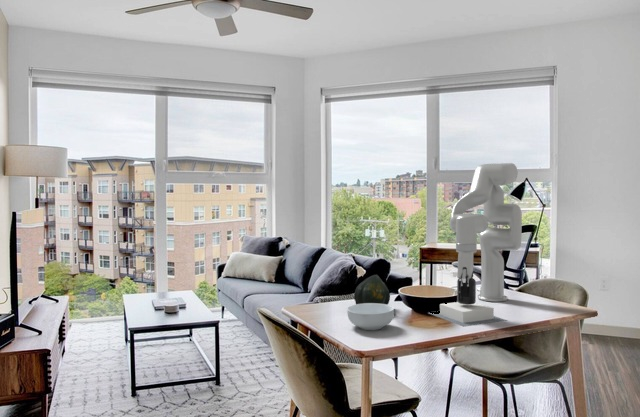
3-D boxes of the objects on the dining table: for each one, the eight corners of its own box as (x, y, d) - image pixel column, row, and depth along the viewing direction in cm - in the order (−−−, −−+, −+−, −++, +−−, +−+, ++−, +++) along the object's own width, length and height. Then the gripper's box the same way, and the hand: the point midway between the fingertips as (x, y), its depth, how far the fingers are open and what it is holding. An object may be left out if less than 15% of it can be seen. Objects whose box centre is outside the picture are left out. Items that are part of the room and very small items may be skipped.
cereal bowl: (365, 319, 195) (364, 300, 195) (403, 326, 184) (403, 306, 184) (337, 328, 182) (337, 308, 182) (377, 336, 171) (377, 315, 171)
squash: (349, 301, 201) (374, 272, 202) (346, 294, 216) (369, 268, 217) (376, 324, 202) (401, 295, 202) (371, 316, 217) (394, 289, 217)
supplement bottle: (455, 303, 193) (455, 272, 193) (459, 300, 199) (459, 269, 199) (473, 305, 190) (473, 273, 189) (477, 301, 196) (477, 270, 195)
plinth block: (439, 314, 198) (439, 304, 198) (469, 310, 204) (469, 300, 204) (463, 322, 185) (463, 311, 185) (493, 318, 191) (493, 308, 191)
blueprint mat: (427, 314, 201) (427, 312, 201) (468, 309, 209) (468, 307, 209) (463, 328, 181) (463, 326, 181) (507, 321, 188) (507, 320, 188)
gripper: (459, 245, 203) (459, 289, 204) (452, 250, 187) (453, 298, 188) (478, 245, 200) (478, 290, 201) (474, 251, 184) (474, 300, 185)
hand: (466, 294), depth 194 cm, fingers closed on supplement bottle, 6 cm apart
